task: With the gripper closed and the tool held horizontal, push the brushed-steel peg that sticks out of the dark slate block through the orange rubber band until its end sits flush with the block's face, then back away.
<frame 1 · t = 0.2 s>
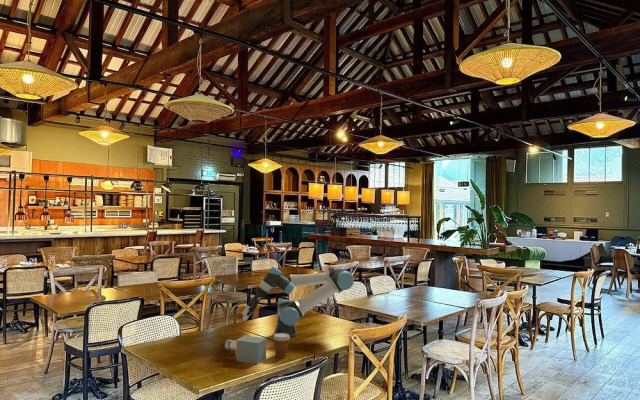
hand: (243, 317, 279), 15 cm above the table, tool tilted 35°, fingers open, 13 cm apart
steel peg: (236, 345, 248), point 7 cm above the table, slide at 0.0 cm
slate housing: (240, 358, 247), on the table
disposable coffee cup: (280, 356, 253), on the table
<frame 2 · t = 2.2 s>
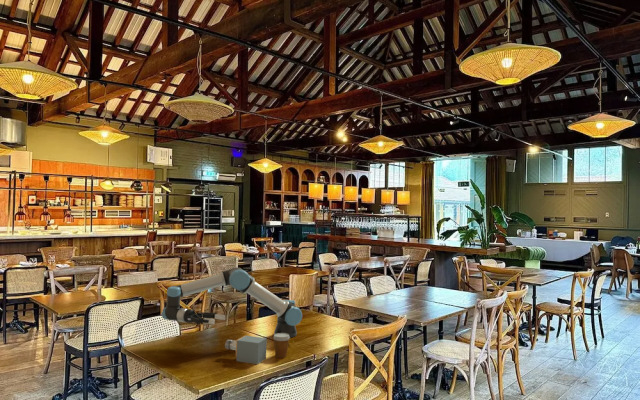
hand: (219, 319, 252), 20 cm above the table, tool horizontal, fingers open, 11 cm apart
nothing on the table moved.
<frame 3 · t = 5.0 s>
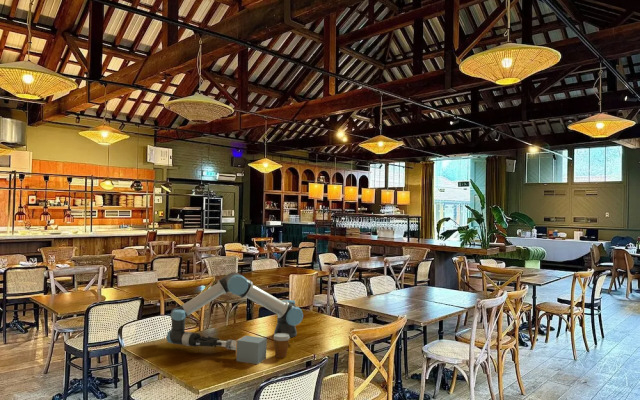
hand: (227, 344, 250), 7 cm above the table, tool horizontal, fingers closed
steel peg: (237, 345, 248), point 7 cm above the table, slide at 0.4 cm, touching gripper
everything else where it was.
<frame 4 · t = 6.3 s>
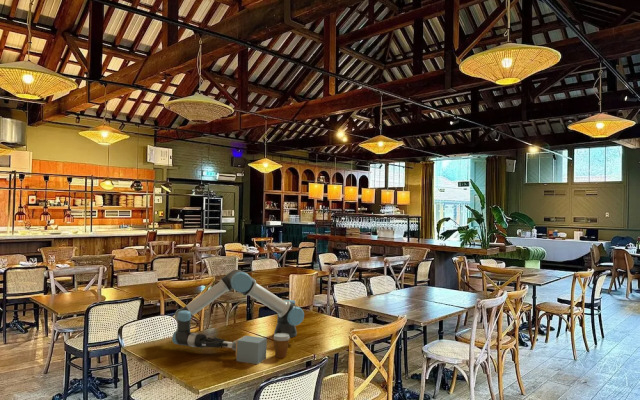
hand: (233, 345, 248), 7 cm above the table, tool horizontal, fingers closed
steel peg: (243, 346, 246), point 7 cm above the table, slide at 4.4 cm, touching gripper
everything else where it was.
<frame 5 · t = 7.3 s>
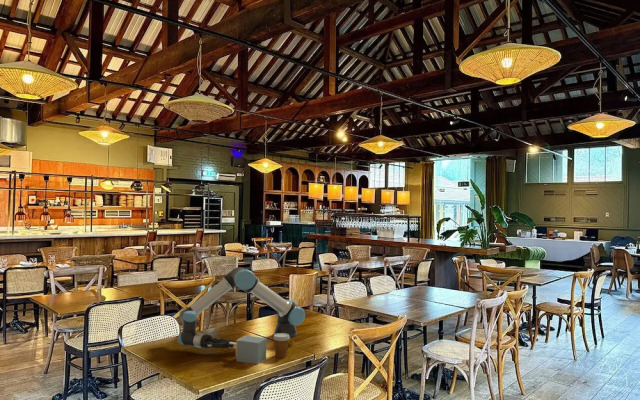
hand: (239, 346, 247), 7 cm above the table, tool horizontal, fingers closed
steel peg: (249, 347, 245), point 7 cm above the table, slide at 8.1 cm, touching gripper
everything else where it was.
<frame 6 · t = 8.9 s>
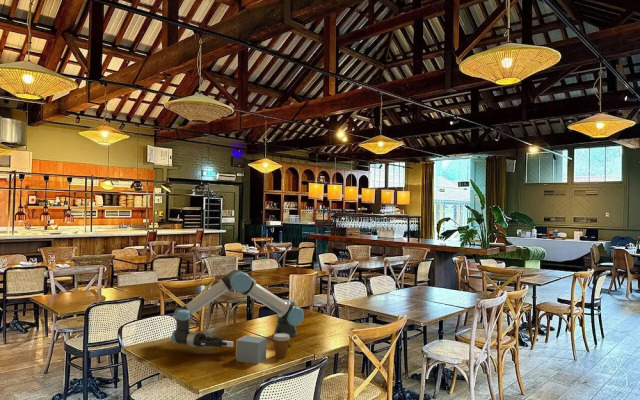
hand: (232, 344, 248), 7 cm above the table, tool horizontal, fingers closed
steel peg: (249, 347, 245), point 7 cm above the table, slide at 8.0 cm
everything else where it was.
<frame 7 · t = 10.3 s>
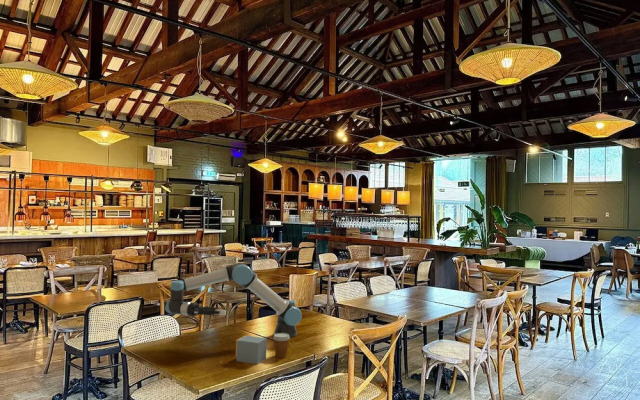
hand: (225, 312, 254), 24 cm above the table, tool horizontal, fingers closed
nothing on the table moved.
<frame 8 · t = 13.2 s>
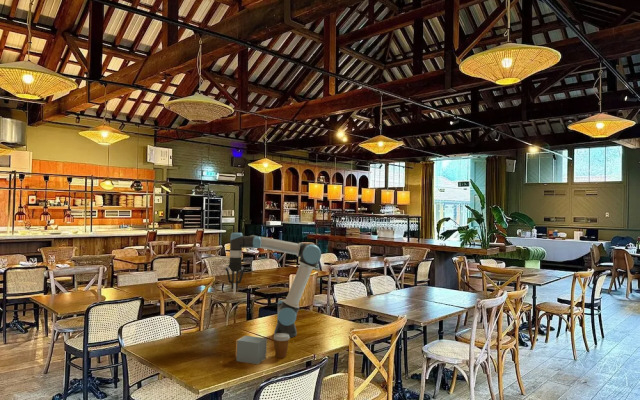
hand: (234, 293, 282), 29 cm above the table, tool pointing down, fingers closed
nothing on the table moved.
at the end: steel peg slide at 8.0 cm; disposable coffee cup moved 0.2 cm from its start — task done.
